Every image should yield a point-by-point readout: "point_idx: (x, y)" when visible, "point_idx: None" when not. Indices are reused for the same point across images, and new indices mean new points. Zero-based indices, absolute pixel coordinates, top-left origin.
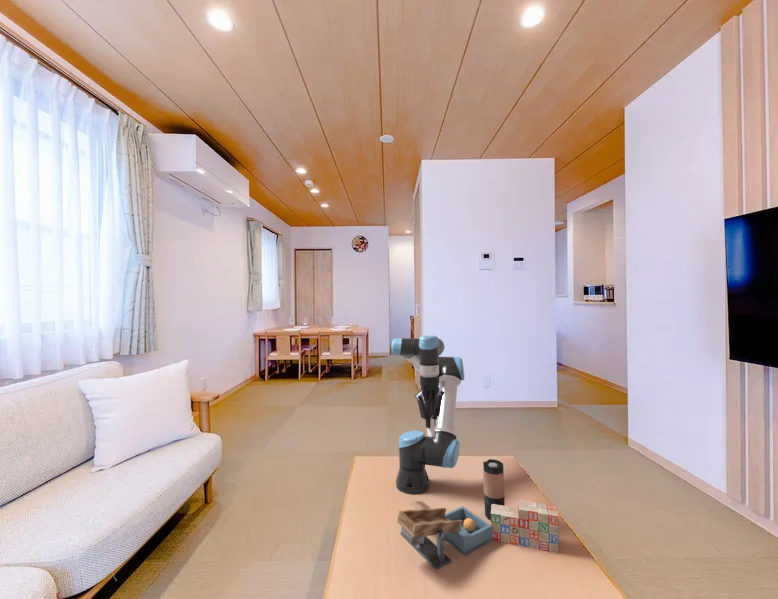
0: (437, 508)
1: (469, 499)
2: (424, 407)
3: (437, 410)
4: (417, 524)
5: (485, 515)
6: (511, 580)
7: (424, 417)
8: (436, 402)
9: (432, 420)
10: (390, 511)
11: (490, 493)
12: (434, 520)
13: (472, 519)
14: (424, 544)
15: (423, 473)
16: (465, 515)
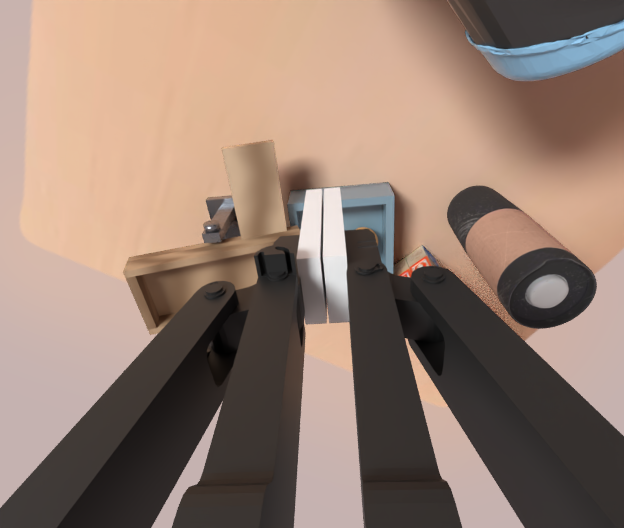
0: (273, 243)
1: (488, 103)
2: (166, 479)
3: (435, 373)
4: (159, 330)
5: (453, 199)
6: (338, 346)
7: (208, 358)
8: (515, 436)
9: (323, 320)
10: (200, 22)
11: (471, 259)
12: (249, 259)
13: (384, 233)
14: (233, 225)
15: None
16: (383, 207)
